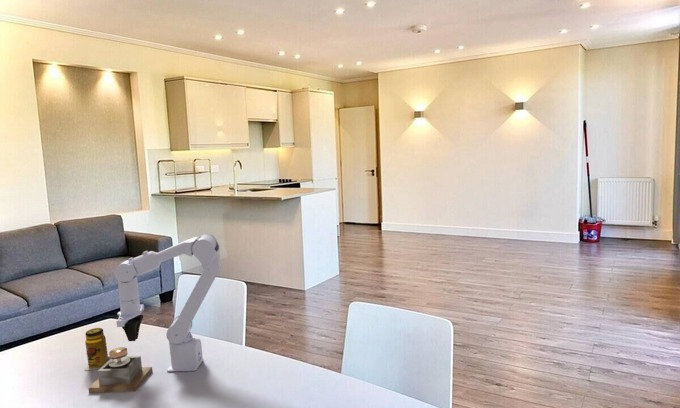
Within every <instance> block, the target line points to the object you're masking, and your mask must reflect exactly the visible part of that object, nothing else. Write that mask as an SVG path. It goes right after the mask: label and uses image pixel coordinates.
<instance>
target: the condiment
mask: <svg viewBox="0 0 680 408" xmlns="http://www.w3.org/2000/svg"><path fill="white" fill-rule="evenodd" d="M84 335H85V340H84V343H85V349H86V357H87V365H86V368H85V371H91V370H97V369H98V370H99V369H100V368H101V367H102V366H103V365H104V364H106V363H107V362H108V361H109V360H110V356H109V352H108V348H107V347H108V346H107V339H106V336H105V333H104V329H103V328H101V327H94V328H90V329H88V330H87V331H86V332H85V333H84Z"/></svg>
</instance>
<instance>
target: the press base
mask: <svg viewBox="0 0 680 408" xmlns="http://www.w3.org/2000/svg"><path fill="white" fill-rule="evenodd" d="M125 357H128V358H130V362H129V363H128V364H126V365H124V366H120V367H110V366H109V362H111V361H112V360H114V359H110V360H109V361H108V362H107V363H106V364H104V365H103V366H102V367H101V368H98V370H97V377H98V378H97V379H96V380H95V381H94V382H93V383H92V384H91V385H90V386H89V387H88V388H87V389H88V393H90V394H91V393H93V394H95V393H118V392H119V393H121V392H124V393H125V392H136V391H137V390H138V389H139V388H140V387H141V385H142V384H143V383H144V382H145V381H146V380H147V378H148V377H149V376H150V375H151V374H152V372H153V366H143V365H142V364H143V363H142V356H141V355H133V356H131V355H129V356H127V355H126V356H125Z"/></svg>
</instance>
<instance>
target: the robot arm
mask: <svg viewBox="0 0 680 408" xmlns="http://www.w3.org/2000/svg"><path fill="white" fill-rule="evenodd" d="M182 255H186V256H189V257H193V255H194V257H195V258H196V259H197V260H198V262H199V263H201V266H202V268H203V271H202V272H201V274H200V276H199V278H198V280H197V282H196V283H195V285H194V287H193V289H192V291H191V293H190V294H189V296H188V298H187V300H186V302H185V304H184V306H183V308H182V310H181V311H180V313H179V315H177V316H176V317H174V318H173V321H172V323H171V325H170V326H169V327H168V329H167V331H166V333H165V334H166V339H167V341H168V343H169V345H168V346H169V355H170V365H169V367H168V368H167V370H166V372H168V373H169V372H193V371H197V370H198V369H199V367H200V365H201V364H202V363H203V361H205V359H204V357H203V348H202V347H203V346H202V341H201V339H200V338H194V337H193V334H192V332H191V329H192V328H193V320H194V318H195V316H196V314H197V313H198V311H199V309H200V307H201V306H202V303H203V302H204V300H205V297H206V296H207V294H208V292H209V291H210V290H211V287H212V285H213V283H214V281H215V279H216V277H217V275H218V274H219V272H220V270H221V267H222V265H221V256H220V255H221V254H220V244H219V243H218V241H217V239H216V237H215V236H214V235H213V234H210V233H204V234H202V235H200V236H194V237H191V238H189V239H185V240H183V241H181V242H179V243H177V244H174V245H172V246H170V247H168V248H166V249H162V250H161V251H159V252H157V251H154V250H150V251H148V250H145V251H143V252H142V254H141V255H138V256H135V257H130V258H128V260H123V262H121V263H120V264H119V265H117V266H116V268H115V269H114V272H113V273H114V278H115V279H116V280H117V285H118V286H117V288H118V298H119V308H120V311H118V312H117V313H116V314H117V316H118V319H117V320H116V327H117V328H121V329H123V331H124V333H125V336H126V339H127V340H128V342H136V341H137V339H138V338H139V333H140V328H141V323H142V322H143V319H144V315H143V314H142V312H143V311H144V310H145V304H144V303H143V304H142V303H141V302H140V301H141V299H140V290H139V282H138V276H142V275H145V274H146V273H149V272H152V271H154V270H157V269H158V268H160V266H161V264H162V263H163V262H165V261H168V260H171V259H174V258H177V257H179V256H182Z"/></svg>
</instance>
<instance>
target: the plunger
mask: <svg viewBox="0 0 680 408" xmlns="http://www.w3.org/2000/svg"><path fill="white" fill-rule="evenodd" d="M128 353H129V352H128V348H127V347H125V346H124V347H122V346H121V347H116V348H113V349H112V350H110V351H109V352H108V356H110V359H114V360H112V361H111V362H109V366H110V367H120V366H124V365H126V364H128V363H129V362H130V358H128V357H126V356H127V355H128Z"/></svg>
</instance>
